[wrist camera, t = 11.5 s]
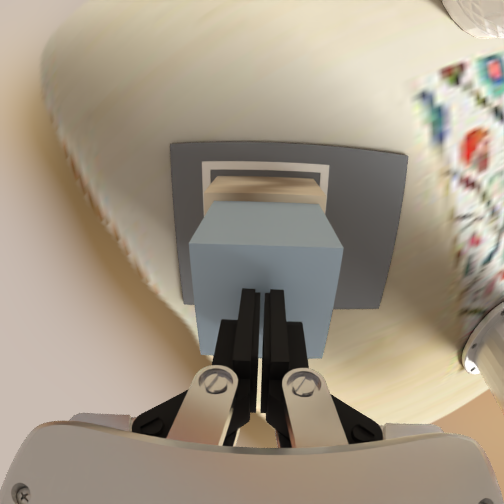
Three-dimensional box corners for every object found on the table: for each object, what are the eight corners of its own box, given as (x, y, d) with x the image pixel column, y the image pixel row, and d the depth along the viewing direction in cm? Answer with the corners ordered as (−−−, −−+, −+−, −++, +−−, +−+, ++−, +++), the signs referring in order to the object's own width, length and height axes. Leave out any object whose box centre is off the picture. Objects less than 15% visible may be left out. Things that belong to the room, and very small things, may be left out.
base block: (313, 178, 21) (326, 196, 16) (306, 264, 24) (314, 299, 19) (217, 175, 21) (203, 192, 17) (219, 261, 24) (209, 295, 20)
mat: (406, 155, 20) (408, 156, 19) (377, 306, 26) (379, 309, 25) (171, 143, 20) (169, 144, 20) (184, 301, 27) (183, 304, 26)
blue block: (318, 204, 17) (343, 248, 11) (309, 292, 19) (321, 358, 14) (213, 200, 17) (188, 243, 11) (217, 289, 19) (200, 354, 14)
